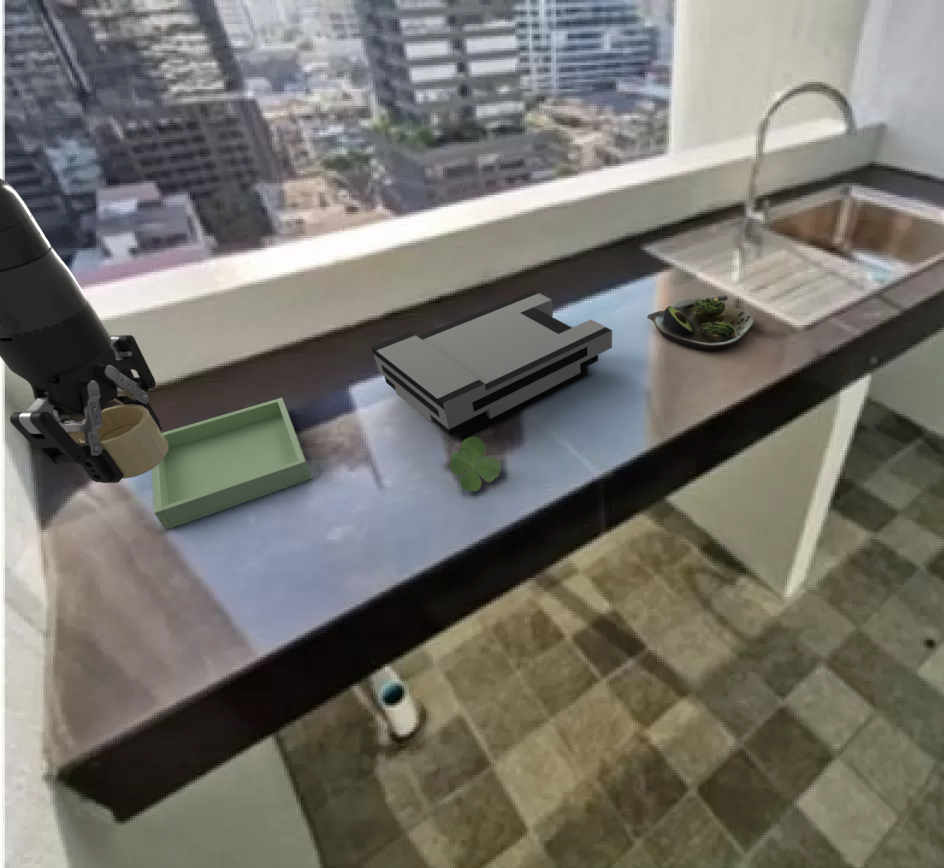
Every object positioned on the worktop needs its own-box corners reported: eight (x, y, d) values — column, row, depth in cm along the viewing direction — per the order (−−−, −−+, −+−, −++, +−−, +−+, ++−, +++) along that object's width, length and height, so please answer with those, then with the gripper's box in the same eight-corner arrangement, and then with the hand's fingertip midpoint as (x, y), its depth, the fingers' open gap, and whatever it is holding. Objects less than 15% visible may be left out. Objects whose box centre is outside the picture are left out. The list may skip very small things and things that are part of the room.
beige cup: (99, 491, 59) (70, 453, 55) (101, 455, 63) (73, 417, 60) (172, 468, 61) (148, 429, 58) (169, 434, 65) (147, 397, 62)
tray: (165, 530, 75) (154, 513, 73) (159, 453, 87) (149, 436, 85) (312, 478, 83) (305, 461, 81) (288, 413, 94) (281, 397, 92)
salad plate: (689, 293, 126) (691, 272, 123) (769, 317, 117) (773, 295, 114) (637, 330, 114) (638, 308, 111) (722, 360, 105) (725, 337, 102)
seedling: (472, 497, 86) (498, 495, 82) (421, 488, 81) (446, 485, 76) (478, 448, 88) (505, 444, 83) (429, 436, 83) (454, 430, 78)
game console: (611, 366, 104) (612, 323, 99) (453, 449, 87) (443, 403, 82) (536, 324, 116) (533, 284, 111) (383, 390, 99) (371, 347, 94)
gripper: (46, 273, 56) (135, 414, 67) (-85, 356, 45) (47, 509, 56) (127, 271, 56) (203, 412, 67) (16, 353, 45) (129, 507, 56)
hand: (132, 456), depth 61 cm, fingers closed on beige cup, 6 cm apart
